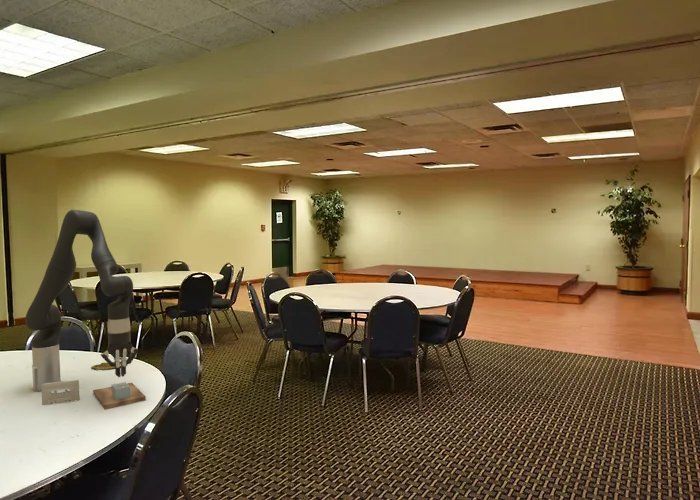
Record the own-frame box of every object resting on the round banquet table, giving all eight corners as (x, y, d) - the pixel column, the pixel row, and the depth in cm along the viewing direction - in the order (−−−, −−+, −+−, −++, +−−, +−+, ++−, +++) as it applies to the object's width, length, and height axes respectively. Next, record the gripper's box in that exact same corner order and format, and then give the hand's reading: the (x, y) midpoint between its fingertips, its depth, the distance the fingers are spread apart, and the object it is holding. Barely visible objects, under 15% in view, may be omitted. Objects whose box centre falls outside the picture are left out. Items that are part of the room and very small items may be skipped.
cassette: (79, 399, 181) (79, 379, 181) (79, 400, 180) (78, 380, 179) (42, 404, 177) (41, 383, 176) (41, 405, 175) (40, 385, 175)
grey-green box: (111, 395, 181) (111, 383, 181) (125, 392, 184) (125, 381, 184) (116, 400, 175) (115, 388, 175) (130, 397, 178) (130, 385, 178)
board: (104, 409, 171) (103, 397, 171) (93, 393, 187) (92, 383, 186) (145, 400, 179) (145, 388, 179) (131, 386, 195) (131, 375, 195)
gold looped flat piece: (90, 375, 215) (127, 370, 220) (89, 365, 214) (126, 360, 219) (92, 367, 223) (127, 362, 229) (91, 357, 222) (127, 353, 228)
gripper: (135, 326, 185) (137, 370, 186) (96, 331, 177) (98, 377, 178) (141, 329, 179) (142, 375, 180) (101, 334, 171) (103, 382, 172)
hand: (120, 376), depth 179 cm, fingers closed
